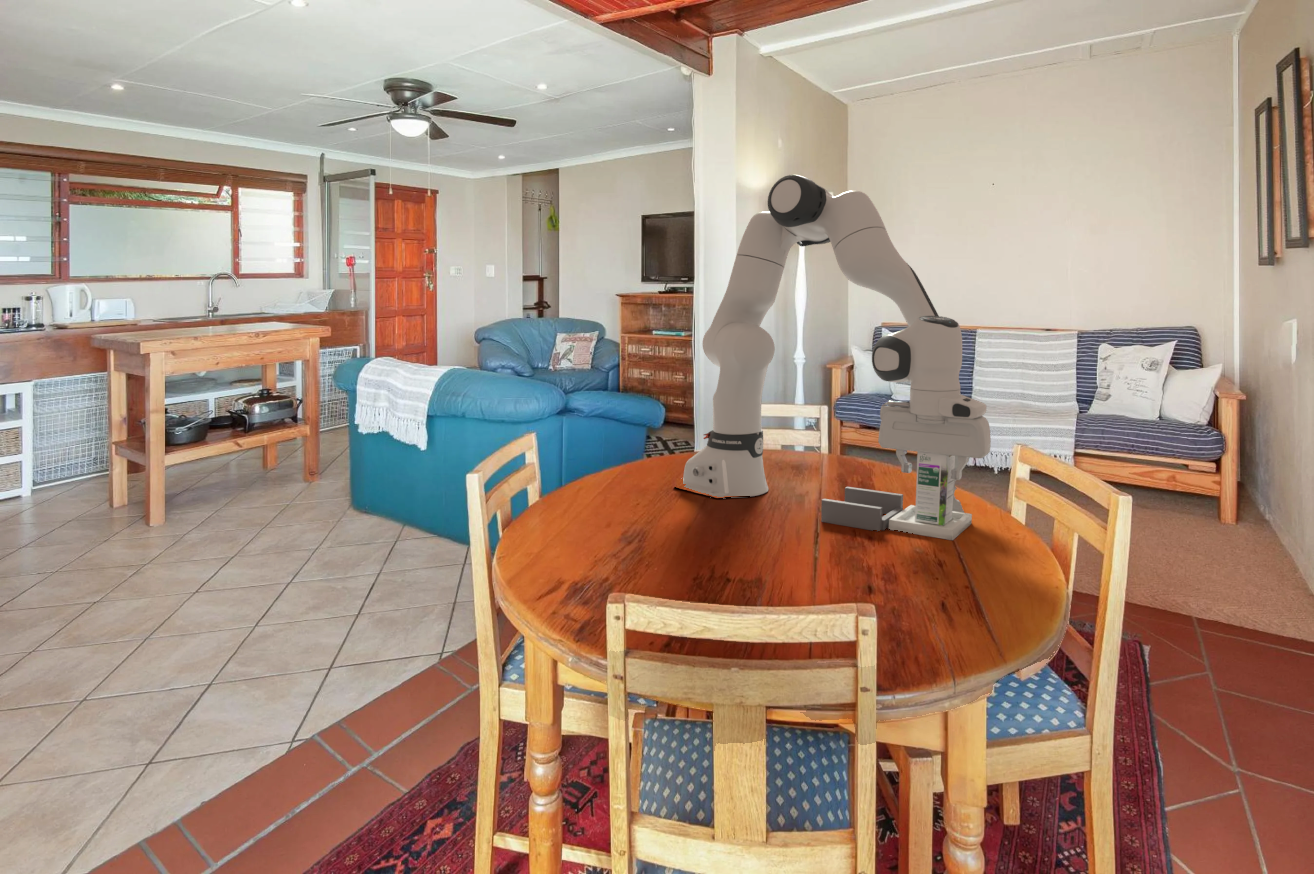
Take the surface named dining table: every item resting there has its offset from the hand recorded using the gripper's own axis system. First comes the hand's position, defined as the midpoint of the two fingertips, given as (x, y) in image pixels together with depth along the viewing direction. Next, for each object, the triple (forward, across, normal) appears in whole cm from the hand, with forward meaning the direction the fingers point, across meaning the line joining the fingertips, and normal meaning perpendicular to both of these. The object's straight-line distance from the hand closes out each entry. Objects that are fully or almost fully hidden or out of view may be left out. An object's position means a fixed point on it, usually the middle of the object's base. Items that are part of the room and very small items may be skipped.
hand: (930, 475), depth 146 cm
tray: (+10, 0, 0) cm, 10 cm away
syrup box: (+10, 0, +2) cm, 10 cm away
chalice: (+10, 0, +13) cm, 17 cm away
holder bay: (+10, -13, -2) cm, 17 cm away
